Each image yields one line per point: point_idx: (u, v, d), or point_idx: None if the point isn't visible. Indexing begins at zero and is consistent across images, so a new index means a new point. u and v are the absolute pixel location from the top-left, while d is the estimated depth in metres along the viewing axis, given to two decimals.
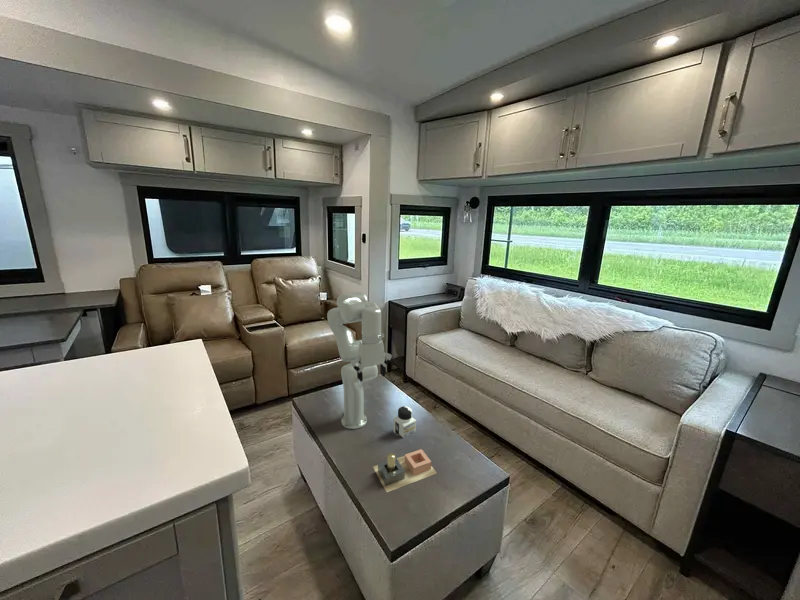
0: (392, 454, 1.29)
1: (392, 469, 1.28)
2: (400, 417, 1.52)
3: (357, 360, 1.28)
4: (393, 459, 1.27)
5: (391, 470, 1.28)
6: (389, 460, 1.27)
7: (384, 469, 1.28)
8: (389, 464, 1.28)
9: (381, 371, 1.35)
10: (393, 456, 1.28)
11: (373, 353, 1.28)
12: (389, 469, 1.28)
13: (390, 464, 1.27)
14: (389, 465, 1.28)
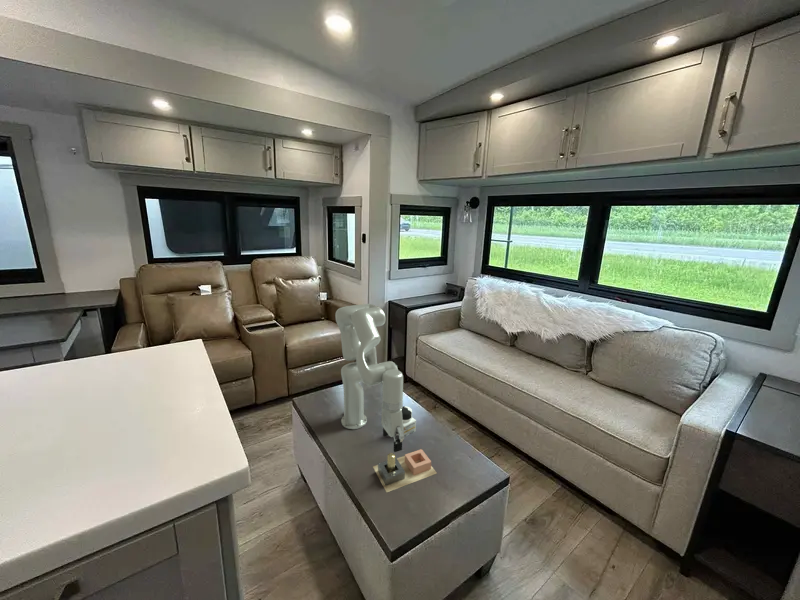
0: (392, 454, 1.29)
1: (392, 469, 1.28)
2: None
3: None
4: (393, 459, 1.27)
5: (391, 470, 1.28)
6: (389, 460, 1.27)
7: (384, 469, 1.28)
8: (389, 464, 1.28)
9: (386, 432, 1.29)
10: (393, 456, 1.28)
11: None
12: (389, 469, 1.28)
13: (390, 464, 1.27)
14: (389, 465, 1.28)
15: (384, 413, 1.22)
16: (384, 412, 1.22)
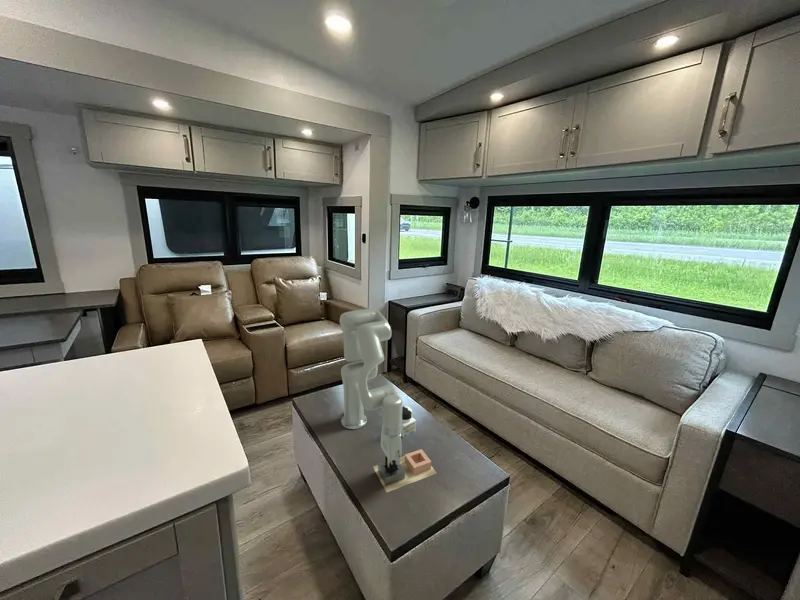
0: None
1: None
2: None
3: None
4: None
5: None
6: (389, 460, 1.27)
7: (384, 469, 1.28)
8: None
9: None
10: None
11: None
12: None
13: None
14: None
15: (383, 437, 1.26)
16: (383, 436, 1.25)
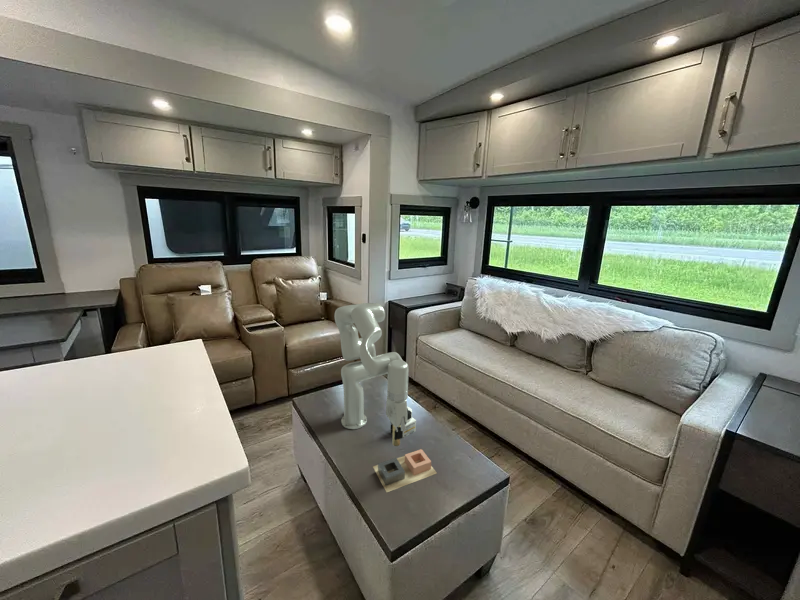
0: None
1: None
2: None
3: None
4: (398, 427, 1.24)
5: None
6: (394, 428, 1.24)
7: (384, 469, 1.28)
8: (394, 432, 1.25)
9: None
10: None
11: None
12: None
13: None
14: (394, 433, 1.25)
15: (389, 403, 1.23)
16: (389, 402, 1.22)
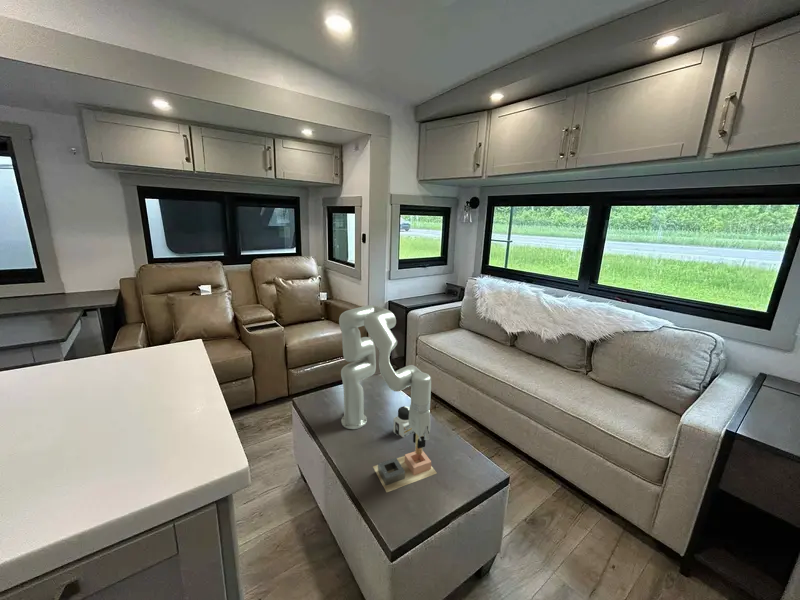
0: None
1: None
2: (400, 417, 1.52)
3: None
4: (421, 436, 1.30)
5: None
6: (417, 437, 1.30)
7: (384, 469, 1.28)
8: (417, 441, 1.31)
9: None
10: None
11: None
12: (417, 446, 1.31)
13: None
14: (417, 442, 1.31)
15: (412, 414, 1.29)
16: (412, 413, 1.28)
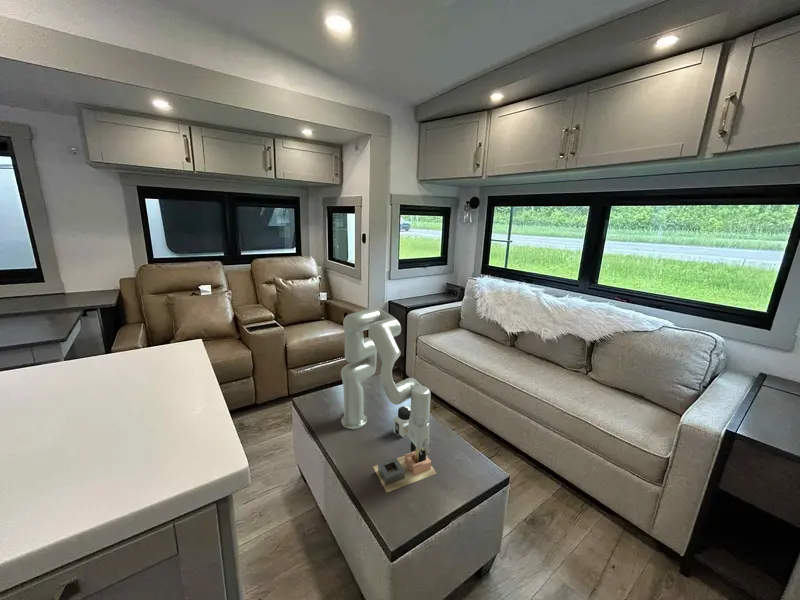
0: None
1: None
2: (400, 417, 1.52)
3: None
4: None
5: None
6: (417, 450, 1.32)
7: (384, 469, 1.28)
8: (417, 454, 1.33)
9: (414, 447, 1.36)
10: None
11: None
12: (417, 459, 1.33)
13: (418, 455, 1.33)
14: (417, 455, 1.33)
15: (411, 426, 1.30)
16: (411, 425, 1.30)
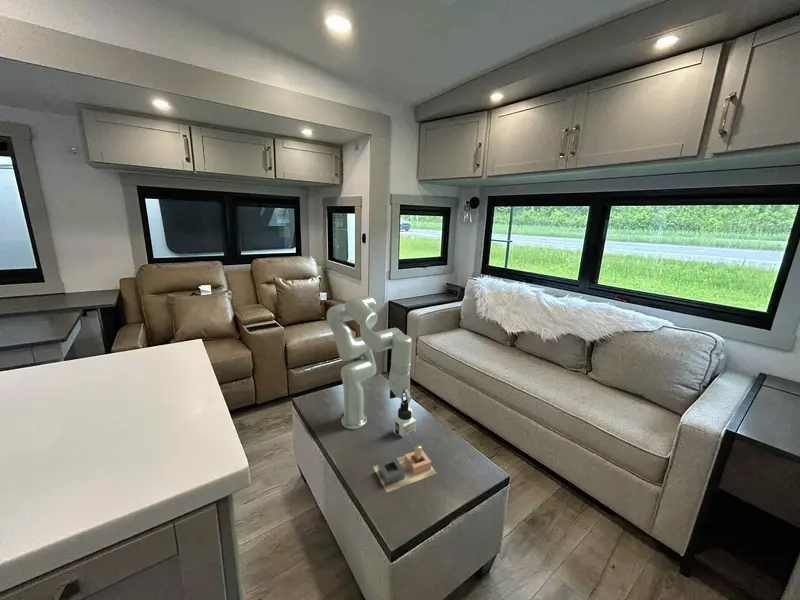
0: (419, 445, 1.34)
1: (419, 459, 1.33)
2: (400, 417, 1.52)
3: None
4: (420, 450, 1.32)
5: (418, 460, 1.33)
6: (416, 451, 1.32)
7: (384, 469, 1.28)
8: (416, 454, 1.33)
9: (393, 395, 1.36)
10: (420, 447, 1.33)
11: None
12: (416, 459, 1.33)
13: (417, 455, 1.33)
14: (416, 455, 1.33)
15: (392, 376, 1.29)
16: (392, 375, 1.28)
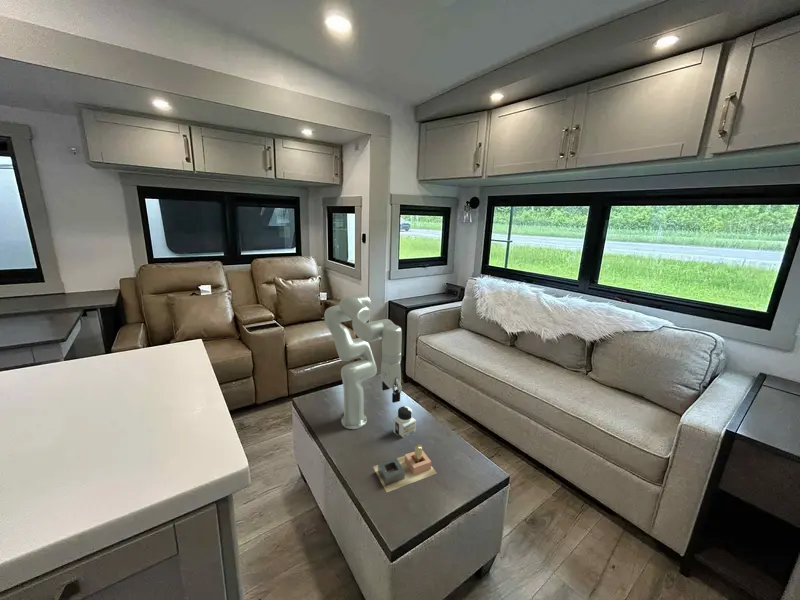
0: (419, 445, 1.34)
1: (419, 460, 1.33)
2: (400, 417, 1.52)
3: None
4: (420, 450, 1.32)
5: (418, 460, 1.33)
6: (416, 451, 1.32)
7: (384, 469, 1.28)
8: (416, 455, 1.33)
9: (385, 386, 1.36)
10: (420, 447, 1.33)
11: None
12: (416, 459, 1.33)
13: (417, 455, 1.32)
14: (416, 456, 1.33)
15: (383, 366, 1.29)
16: (383, 365, 1.29)
